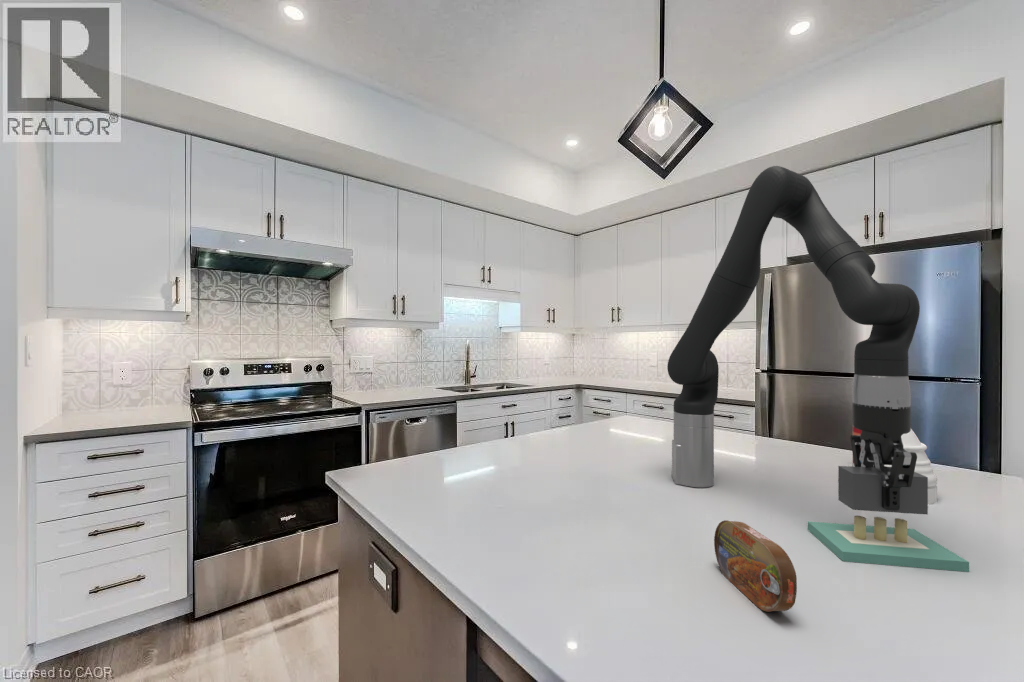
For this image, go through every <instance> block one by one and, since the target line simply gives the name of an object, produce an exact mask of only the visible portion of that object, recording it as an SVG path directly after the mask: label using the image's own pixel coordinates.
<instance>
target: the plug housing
mask: <svg viewBox="0 0 1024 682" xmlns="http://www.w3.org/2000/svg"><path fill="white" fill-rule="evenodd" d="M837 467H838V471H837V472H838V473H837V474H838V478H837V479H838V482H837V483H838V488H837V489H838V500H837V501H839V502H841V503H843V504H844V505H845V506H847V507H848V508H850V509H852V510H853V511H865V512H866V511H867V512H880V513H896V514H897V513H898V514H910V515H911V514H914V515H928V514H929V513H928V511H929V509H928V508H929V507H928V477H926V476H923V475H921V474H919V473H916V472H914V475H913V479H912V484H911V487H902V488H900V509H899V510H897V511H894V510H886V509H884V508H883V507H882V486H883V485H882V481H881V475H880V472H878V471H877V470H876V468H874V467H868V468H865V467H853V465H852V466H851V465H850V466H849V465H848V466H847V465H838V466H837ZM889 477H890V472H888V478H889ZM903 478H904V474H902V479H903Z"/></svg>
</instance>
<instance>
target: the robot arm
mask: <svg viewBox="0 0 1024 682" xmlns="http://www.w3.org/2000/svg"><path fill="white" fill-rule="evenodd" d="M742 205H743V206H742V208H741V211H740V213H739V216H738V219H737V221H736V224H735V225H734V226H735V227H734V230H733V232H732V234H731V236H730V239H729V241H728V243H727V245H726V248H725V250H724V252H723V254H722V256H721V259H720V260H719V262H718V264H717V265H716V266H717V267H716V268H715V270H714V272H713V273H712V276H711V278H710V280H709V282H708V284H707V287H706V288H705V291H704V293H703V295H702V297H701V299H700V301H699V303H698V305H697V308H696V309H695V311H694V314H693V316H692V318H691V320H690V322H689V324H688V326H687V327H686V329H685V331H684V332H683V334H682V335H681V337H680V339H679V340H678V342H677V344H676V345H675V347H674V349H672V352H671V354H670V355H669V357H668V360H667V365H666V366H667V373H668V374H667V375H668V376H669V379H671V381H672V382H673V383H675V384H677V385H681V386H682V389H681V391H680V393H679V395H678V396H677V397H676V398H675V399H674V400H673V439H672V440H671V478H672V481H674V484H675V485H682V486H685V487H686V486H687V487H692V488H710V487H713V486H714V483H715V413H714V412H715V406H716V404H717V401H718V397H719V396H718V394H719V369H720V367H719V363H718V358H717V357H716V354H714V352H713V351H712V350H711V348H712V347H713V345H714V344H715V342H716V341H717V339H718V337H719V335H720V334H722V332H723V331H724V330H725V329H726V328H727V327H728V326H729V325H730V324H731V323H732V322H733V321H735V319H736V318H737V317H738V316H739V315H740V313H741V312H743V310H744V309H745V307H746V305H747V304H748V302H749V301H750V298H751V297H752V295H753V293H754V290H755V288H756V287H757V285H758V282H759V280H760V275H761V267H762V266H761V265H762V264H761V261H762V259H761V257H762V256H761V255H762V254H761V252H762V243H763V239H764V236H765V233H766V232H767V229H768V227H769V225H770V222H771V221H772V219H773V218H777V219H781V220H783V221H785V222H786V223H787V224H789V225H790V226H791V227H792V228H794V229H795V230H796V231H797V232H798V233H799V234H800V236H801V237H802V239H803V242H804V245H805V248H806V251H807V254H808V255H809V257H810V259H811V260H812V262H813V264H814V265H815V266H816V267H817V269H818V270H819V271H820V272H821V273H822V275H823V276H824V277H825V278H826V280H827V281H828V282H830V284H831V287H832V290H833V293H834V295H835V297H836V298H835V299H836V300H837V302H838V305H839V307H840V309H841V311H842V312H843V313H844V314H845V316H847V317H848V318H849V319H850V320H851V321H853V322H854V323H857V324H860V325H864V326H872V328H871V330H870V335H869V337H868V338H867V339H864V340H861V341H859V342H858V343H856V345H855V348H854V354H853V355H854V356H853V357H854V359H853V360H854V363H853V366H854V367H853V368H854V371H853V373H854V374H853V382H852V427H853V426H854V427H855V428H856V429H859V430H862V432H861V435H853V434H851V435H850V436H849V437H850V438H849V439H850V445H851V451H852V460H853V459H854V466H855V467H865V468H868V467H873V465H874V468H876V470H877V471H878V472H880V475H881V481H882V485H883V486H882V507H883V508H884V509H886V510H894V511H897V510H899V509H900V488H902V487H911V484H912V479H913V475H914V470H915V466H916V461H917V455H916V453H915V452H907V451H906V450H904V449H903V443H902V439H901V436H902V435H903V434H907V433H909V432H910V431H911V429H912V427H911V425H912V424H911V422H912V420H911V417H912V415H911V414H912V412H911V408H912V407H911V406H912V405H911V404H912V403H911V401H912V397H911V396H912V395H911V391H912V390H911V386H910V385H911V384H910V379H909V349H910V347H911V344H912V342H913V339H914V336H915V331H916V328H917V325H918V323H919V318H920V302H919V301H920V300H919V298H918V295H917V293H916V292H915V291H914V290H913V289H912V288H911V287H909V286H908V285H905V284H902V283H884V282H882V283H881V282H878V281H877V280H876V279H874V277H873V275H874V273H875V271H876V263H875V261H874V260H873V258H872V257H871V256H870V255H869V254H868V253H867V252H866V251H865V250H864V248H862V246H861V245H860V244H859V243H858V242H857V241H856V240H855V239H854V238H853V237H852V236H851V235H850V234H849V233H848V232H847V231H846V230H845V229H844V228H843V227H842V226H841V224H840V223H839V222H838V221H837V220H836V219H835V218H834V216H833V215H832V213H831V212H830V211H829V210H828V208H827V207H826V206H825V204H824V202H823V201H822V198H821V197H820V195H819V193H818V191H817V190H816V188H815V187H814V185H813V183H812V182H811V180H810V179H808V177H807V176H805V175H802V174H801V173H797V172H795V171H793V170H790V169H788V168H786V167H783V166H780V165H773V166H769V167H767V168H765V169H764V170H762V172H760V173H759V174H758V175H757V177H756V178H755V180H754V181H753V183H752V184H751V185H750V187H749V189H748V193H747V195H746V197H745V200H744V201H743V204H742ZM860 461H861V462H860ZM884 465H892V467H885V466H884ZM888 472H890V477H889V478H888ZM902 474H904V478H903V479H902Z"/></svg>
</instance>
